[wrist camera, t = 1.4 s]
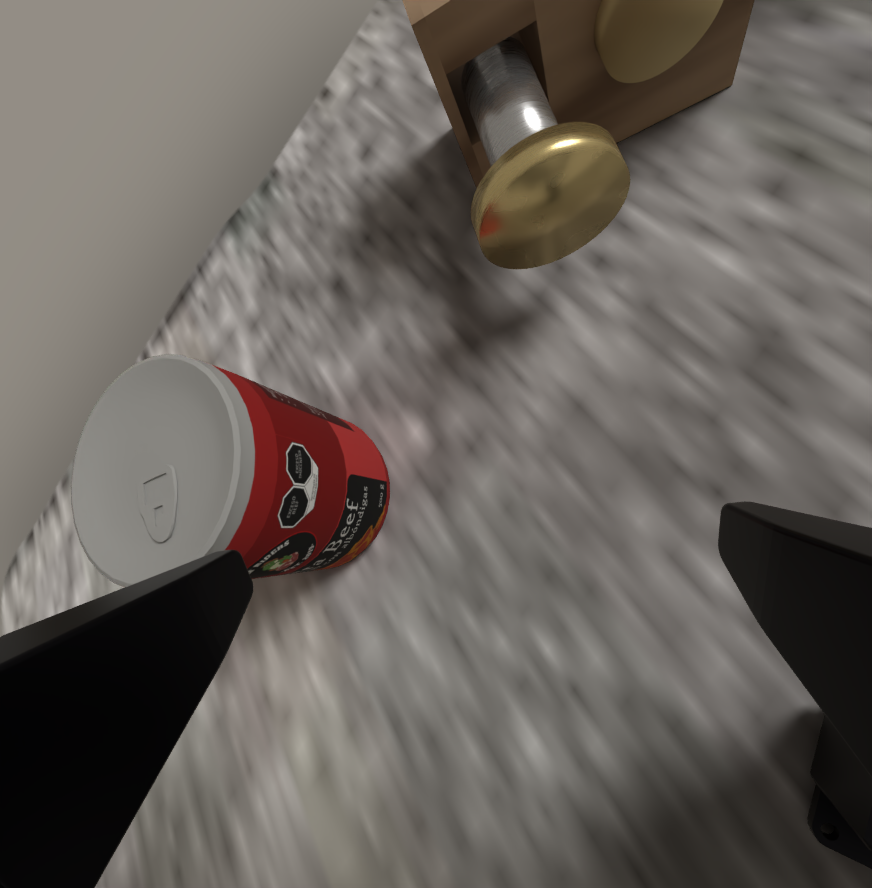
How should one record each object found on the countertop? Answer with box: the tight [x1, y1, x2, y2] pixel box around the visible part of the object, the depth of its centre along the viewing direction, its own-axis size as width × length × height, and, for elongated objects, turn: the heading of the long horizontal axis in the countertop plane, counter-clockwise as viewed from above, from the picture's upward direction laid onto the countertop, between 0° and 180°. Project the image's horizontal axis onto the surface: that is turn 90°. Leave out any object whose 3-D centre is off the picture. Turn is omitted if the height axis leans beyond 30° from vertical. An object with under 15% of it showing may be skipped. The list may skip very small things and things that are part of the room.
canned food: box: [71, 354, 390, 587], centre depth 21 cm, size 8×8×11 cm
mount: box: [403, 0, 754, 188], centre depth 20 cm, size 7×12×10 cm, turn 106°
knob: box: [461, 36, 630, 269], centre depth 19 cm, size 7×6×6 cm
